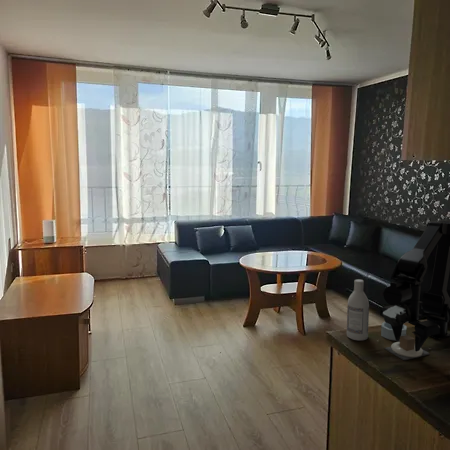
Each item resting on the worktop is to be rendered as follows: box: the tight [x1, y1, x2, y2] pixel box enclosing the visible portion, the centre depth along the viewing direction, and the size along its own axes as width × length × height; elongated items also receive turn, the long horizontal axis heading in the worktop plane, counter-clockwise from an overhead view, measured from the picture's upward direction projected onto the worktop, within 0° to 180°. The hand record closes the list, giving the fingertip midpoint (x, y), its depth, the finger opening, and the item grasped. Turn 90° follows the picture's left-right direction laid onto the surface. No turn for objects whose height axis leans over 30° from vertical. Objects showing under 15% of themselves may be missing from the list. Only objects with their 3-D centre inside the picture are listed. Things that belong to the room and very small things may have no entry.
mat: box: [384, 346, 430, 361], centre depth 127 cm, size 10×8×1 cm
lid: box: [390, 334, 424, 358], centre depth 126 cm, size 9×9×4 cm
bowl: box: [380, 321, 408, 342], centre depth 138 cm, size 8×8×4 cm
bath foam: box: [346, 278, 370, 342], centre depth 137 cm, size 7×7×20 cm
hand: (407, 345), depth 126 cm, fingers open, 8 cm apart
